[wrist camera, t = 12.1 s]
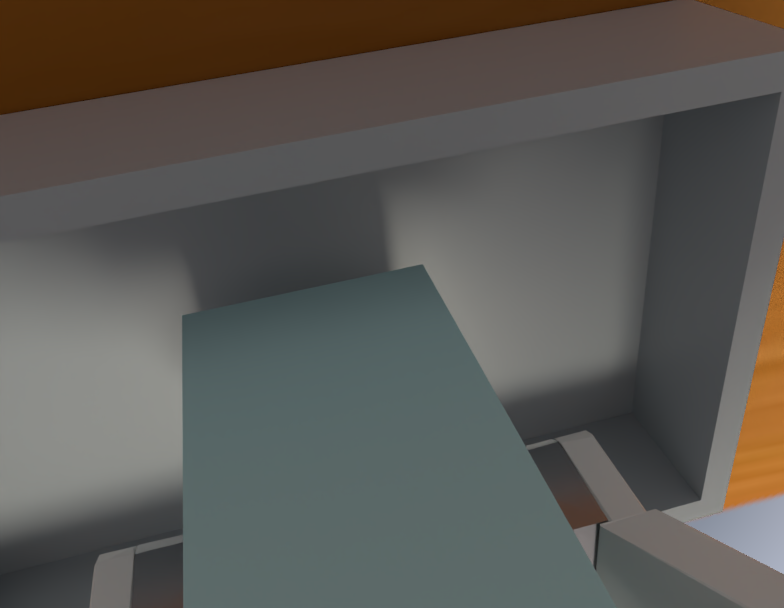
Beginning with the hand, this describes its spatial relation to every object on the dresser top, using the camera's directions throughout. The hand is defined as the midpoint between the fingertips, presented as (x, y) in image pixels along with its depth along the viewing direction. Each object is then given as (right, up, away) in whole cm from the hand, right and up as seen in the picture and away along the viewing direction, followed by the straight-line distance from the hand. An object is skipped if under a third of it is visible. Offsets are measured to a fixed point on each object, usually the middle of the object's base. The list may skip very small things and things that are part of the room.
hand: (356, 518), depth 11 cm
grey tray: (-1, +3, +4) cm, 5 cm away
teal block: (-1, +2, +3) cm, 3 cm away
